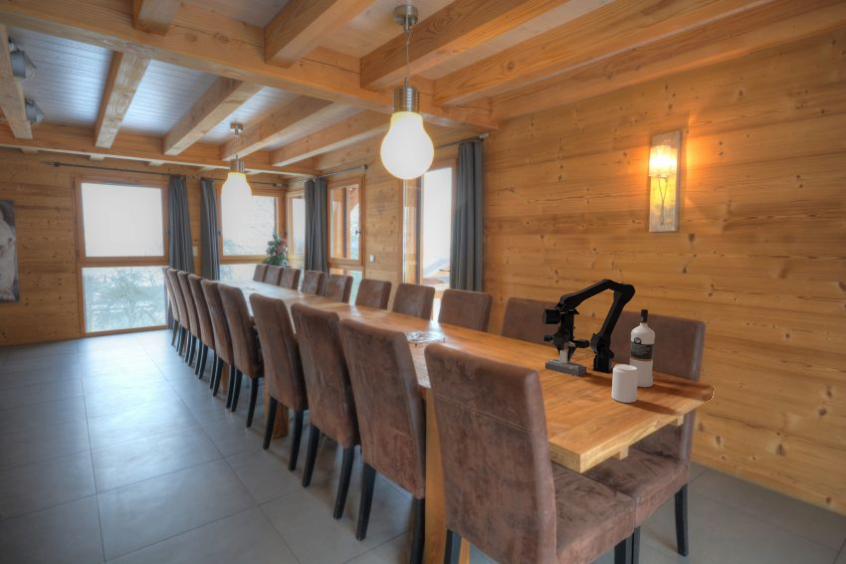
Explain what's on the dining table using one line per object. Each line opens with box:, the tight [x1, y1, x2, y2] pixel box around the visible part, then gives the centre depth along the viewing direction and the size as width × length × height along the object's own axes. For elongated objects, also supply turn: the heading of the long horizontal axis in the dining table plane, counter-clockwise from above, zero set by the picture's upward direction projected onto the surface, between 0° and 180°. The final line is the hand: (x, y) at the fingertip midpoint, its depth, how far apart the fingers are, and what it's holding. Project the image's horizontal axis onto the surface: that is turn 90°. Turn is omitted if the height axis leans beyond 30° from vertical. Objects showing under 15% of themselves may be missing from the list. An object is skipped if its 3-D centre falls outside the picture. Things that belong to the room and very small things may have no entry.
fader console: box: [544, 358, 587, 377], centre depth 194 cm, size 15×8×4 cm, turn 46°
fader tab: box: [558, 348, 572, 364], centre depth 194 cm, size 3×4×6 cm
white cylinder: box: [611, 363, 638, 404], centre depth 160 cm, size 8×8×12 cm
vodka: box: [629, 308, 656, 388], centre depth 176 cm, size 9×9×30 cm
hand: (565, 360), depth 194 cm, fingers closed on fader tab, 3 cm apart
